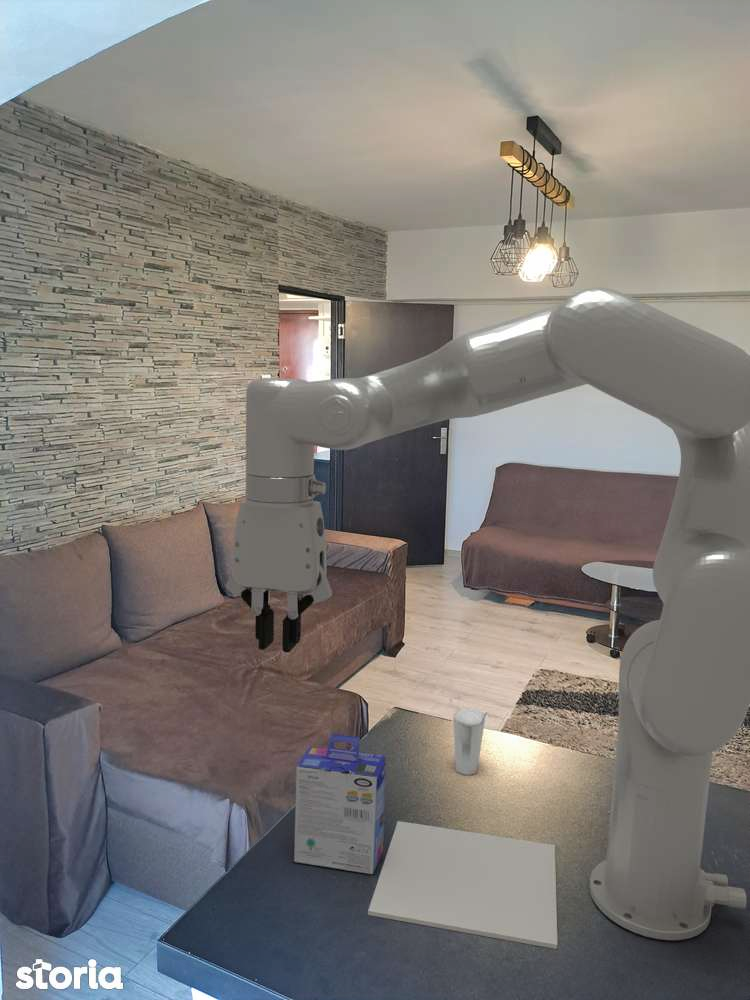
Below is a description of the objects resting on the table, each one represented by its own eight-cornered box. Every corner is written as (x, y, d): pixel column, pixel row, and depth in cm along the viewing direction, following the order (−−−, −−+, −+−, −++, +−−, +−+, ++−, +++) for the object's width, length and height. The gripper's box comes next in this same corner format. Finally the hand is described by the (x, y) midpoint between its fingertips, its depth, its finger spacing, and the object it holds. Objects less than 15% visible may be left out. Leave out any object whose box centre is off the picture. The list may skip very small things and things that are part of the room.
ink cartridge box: (384, 848, 92) (388, 736, 89) (375, 877, 86) (379, 758, 84) (306, 836, 94) (308, 726, 91) (292, 863, 88) (294, 747, 86)
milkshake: (472, 783, 107) (476, 716, 105) (444, 768, 111) (447, 703, 109) (492, 772, 110) (496, 708, 108) (464, 758, 114) (468, 695, 112)
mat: (554, 848, 92) (554, 845, 92) (557, 949, 76) (557, 944, 76) (397, 824, 96) (397, 820, 96) (368, 914, 80) (368, 910, 80)
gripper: (357, 489, 87) (352, 643, 90) (226, 481, 90) (226, 630, 93) (340, 499, 79) (336, 666, 82) (198, 490, 83) (199, 651, 86)
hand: (277, 645), depth 88 cm, fingers closed
